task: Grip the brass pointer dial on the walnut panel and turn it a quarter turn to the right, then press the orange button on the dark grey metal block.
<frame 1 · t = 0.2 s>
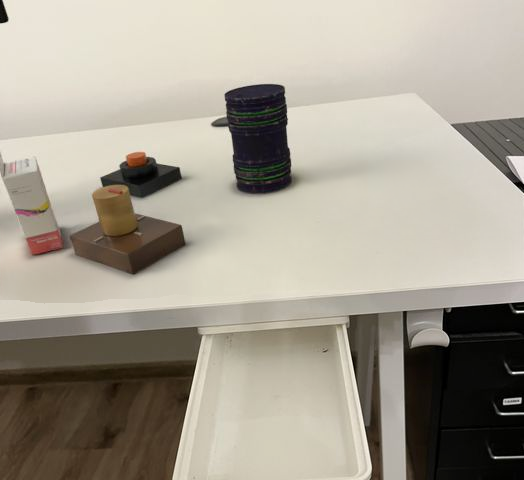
button: (136, 159, 100), point 4 cm above the table, slide at 0.1 cm
dial panel: (130, 249, 79), on the table
button block: (142, 184, 102), on the table
ink cartridge box: (47, 242, 85), on the table
dial: (115, 209, 77), point 6 cm above the table, hinge at 0.0°
dark blue barrel: (264, 184, 96), on the table
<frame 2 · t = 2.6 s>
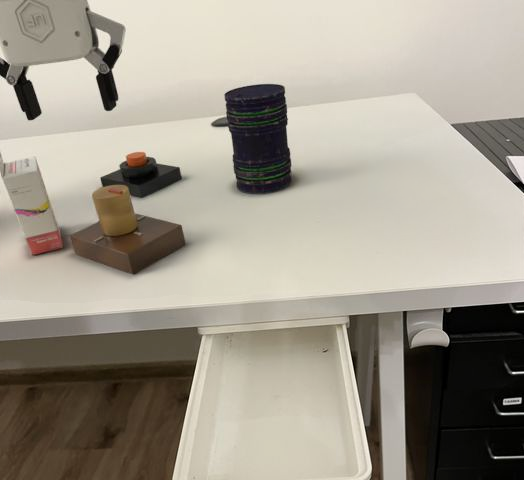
hand: (73, 113, 67), 19 cm above the table, tool pointing down, fingers open, 9 cm apart
nothing on the table moved.
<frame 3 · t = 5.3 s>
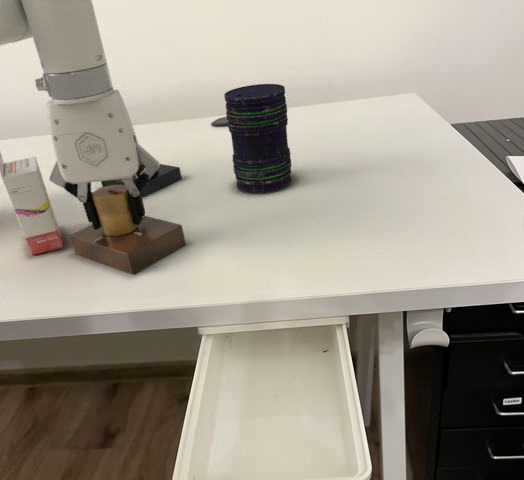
hand: (118, 222, 78), 4 cm above the table, tool pointing down, fingers closed on dial, 5 cm apart
dial: (115, 209, 77), point 6 cm above the table, hinge at 0.2°, touching gripper
everything else where it was.
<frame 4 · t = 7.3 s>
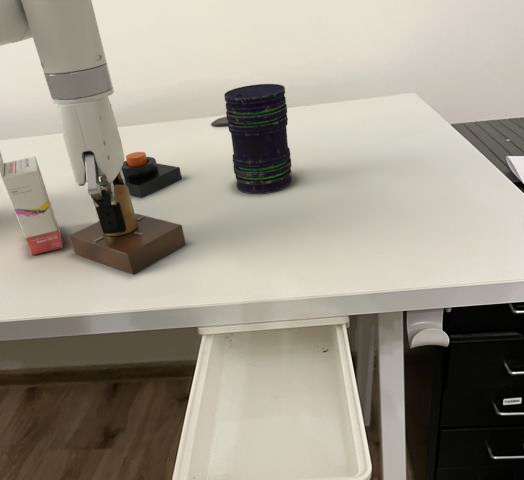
hand: (118, 222, 78), 4 cm above the table, tool pointing down, fingers closed on dial, 5 cm apart
dial: (115, 209, 77), point 6 cm above the table, hinge at -89.9°, touching gripper
everything else where it was.
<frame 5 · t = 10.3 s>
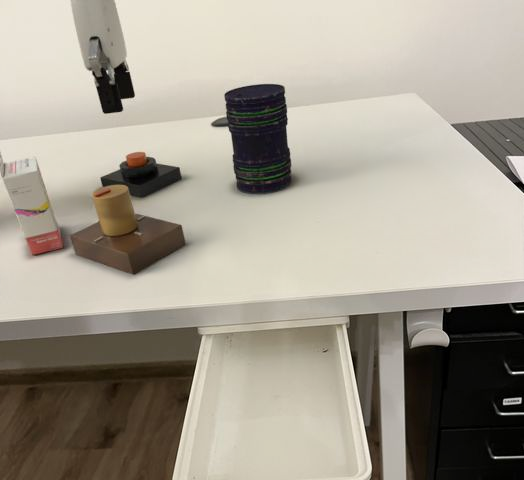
hand: (120, 105, 90), 15 cm above the table, tool pointing down, fingers open, 9 cm apart
dial: (115, 209, 77), point 6 cm above the table, hinge at -91.2°
everything else where it was.
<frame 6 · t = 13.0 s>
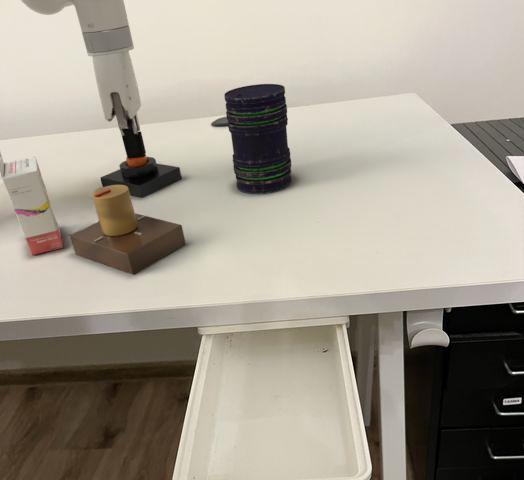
hand: (136, 156, 99), 5 cm above the table, tool pointing down, fingers closed
button: (137, 161, 100), point 4 cm above the table, slide at -0.2 cm, touching gripper
everything else where it was.
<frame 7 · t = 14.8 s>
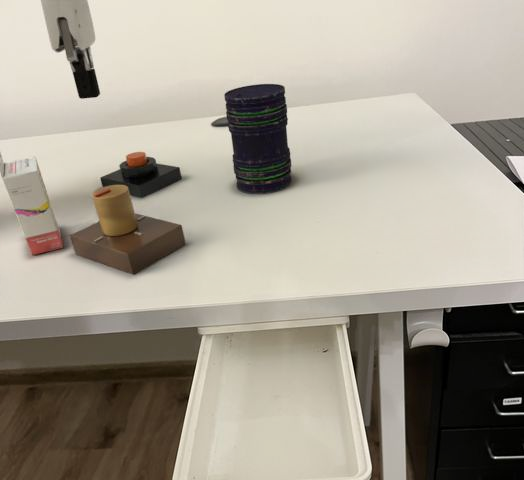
hand: (90, 96, 91), 16 cm above the table, tool pointing down, fingers closed
button: (136, 159, 100), point 4 cm above the table, slide at 0.1 cm
everything else where it was.
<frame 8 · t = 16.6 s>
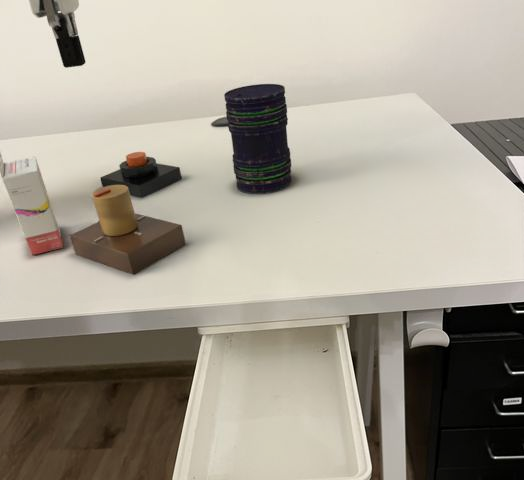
hand: (75, 65, 87), 21 cm above the table, tool pointing down, fingers closed
nothing on the table moved.
at the end: dial at -91° (first picture: +0°); button pushed in 1.1 cm at the most during the clip, back to where it started at the end; button slide at 0.1 cm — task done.
